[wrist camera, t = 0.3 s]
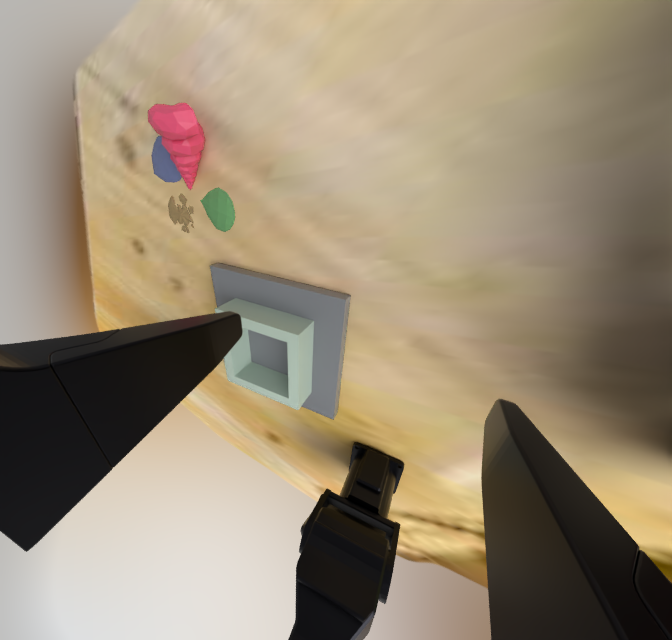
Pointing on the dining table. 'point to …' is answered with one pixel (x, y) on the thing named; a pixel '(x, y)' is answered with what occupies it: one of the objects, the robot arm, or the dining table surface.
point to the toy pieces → (185, 162)
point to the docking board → (284, 337)
